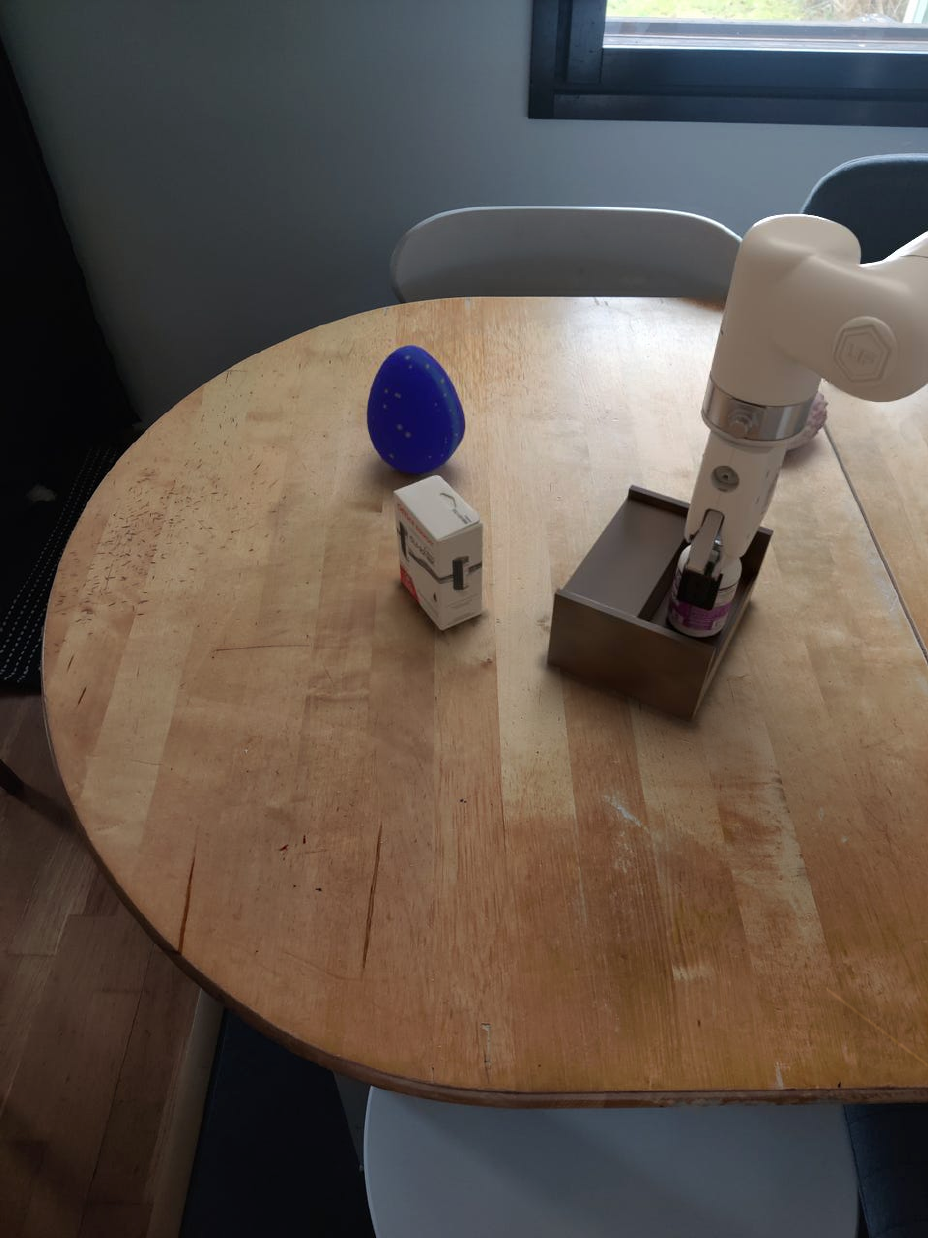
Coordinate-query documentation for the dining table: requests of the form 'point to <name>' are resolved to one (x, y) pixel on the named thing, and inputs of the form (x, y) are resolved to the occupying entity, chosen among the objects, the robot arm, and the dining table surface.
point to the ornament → (414, 412)
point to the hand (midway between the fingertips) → (706, 580)
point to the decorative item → (812, 422)
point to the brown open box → (643, 609)
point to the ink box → (440, 550)
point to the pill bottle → (696, 618)
